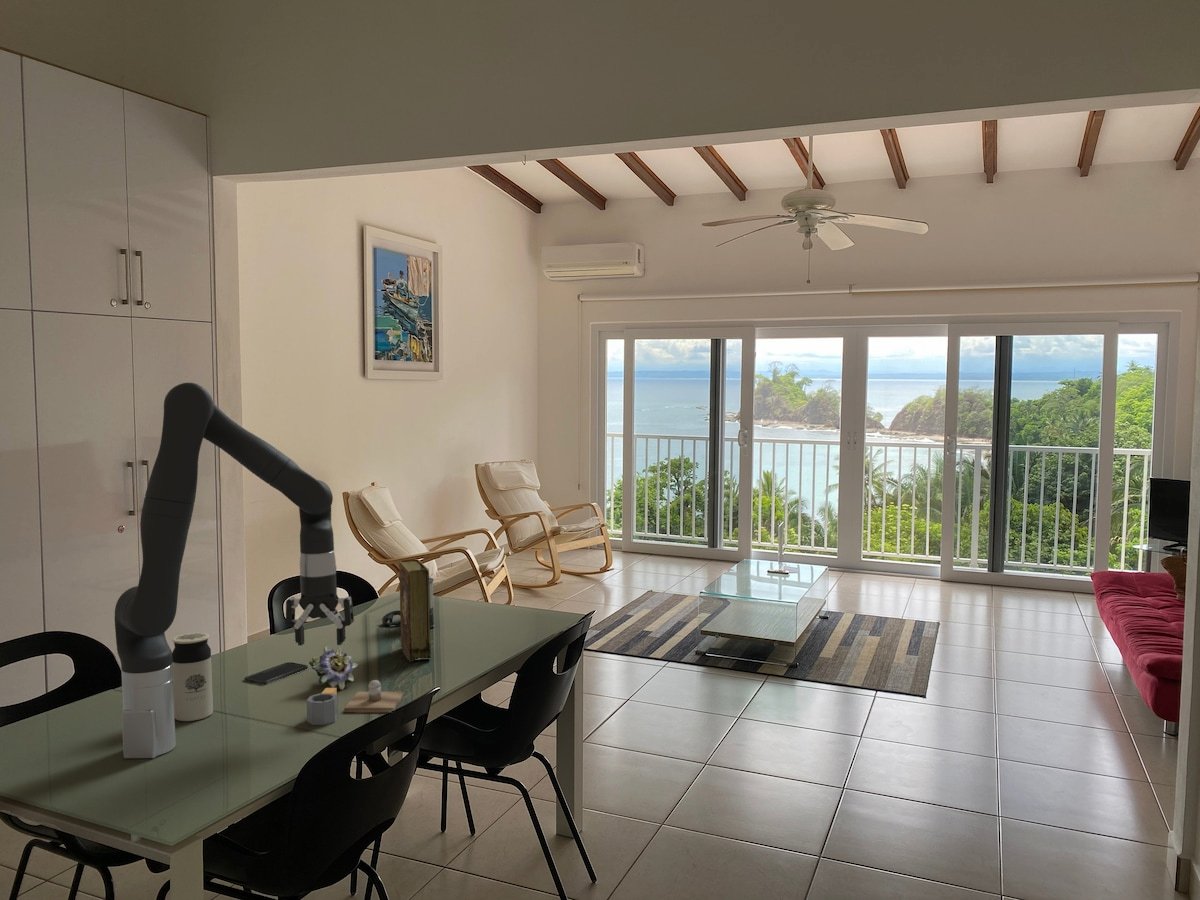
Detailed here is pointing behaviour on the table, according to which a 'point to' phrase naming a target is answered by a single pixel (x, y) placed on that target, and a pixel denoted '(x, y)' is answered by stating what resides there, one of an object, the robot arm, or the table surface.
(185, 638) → the travel mug
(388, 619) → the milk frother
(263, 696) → the table surface
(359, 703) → the base
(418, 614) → the book
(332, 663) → the passion flower
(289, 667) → the phone
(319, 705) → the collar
